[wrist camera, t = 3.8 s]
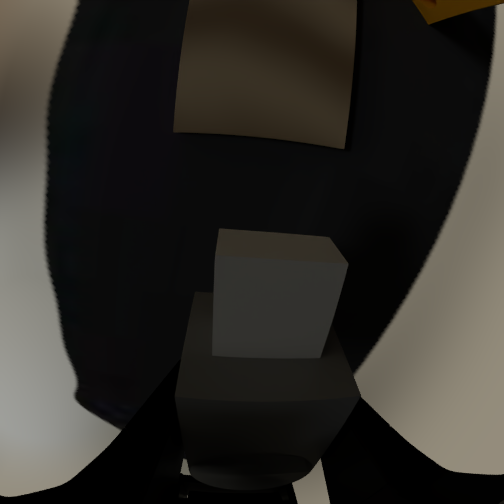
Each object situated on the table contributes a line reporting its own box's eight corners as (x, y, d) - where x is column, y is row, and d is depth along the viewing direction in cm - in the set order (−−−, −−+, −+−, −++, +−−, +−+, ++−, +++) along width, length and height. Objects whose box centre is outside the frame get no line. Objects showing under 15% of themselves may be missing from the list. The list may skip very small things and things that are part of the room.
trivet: (339, 148, 13) (344, 149, 13) (176, 131, 13) (173, 132, 12) (353, -18, 9) (357, -22, 9) (200, -39, 8) (199, -44, 8)
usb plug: (286, 413, 12) (297, 487, 8) (199, 410, 12) (193, 487, 8) (338, 222, 8) (406, 300, 4) (196, 210, 8) (162, 290, 4)
